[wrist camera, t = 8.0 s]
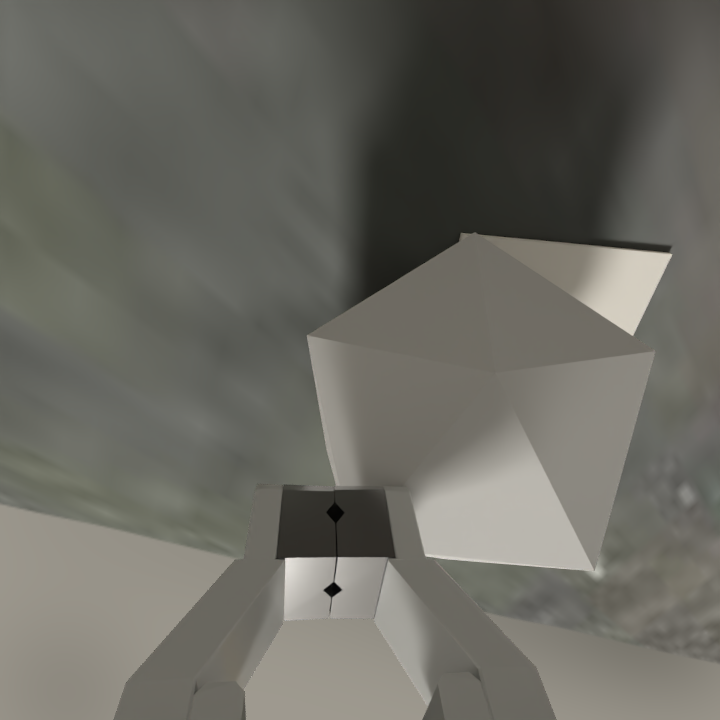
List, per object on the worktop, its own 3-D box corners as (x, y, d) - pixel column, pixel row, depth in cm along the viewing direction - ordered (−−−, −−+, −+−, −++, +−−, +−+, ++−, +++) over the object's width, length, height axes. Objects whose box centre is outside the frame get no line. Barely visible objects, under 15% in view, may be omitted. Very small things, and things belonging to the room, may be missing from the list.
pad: (668, 252, 15) (672, 254, 15) (583, 430, 19) (585, 433, 19) (460, 232, 14) (462, 234, 14) (417, 424, 18) (418, 427, 18)
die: (203, 549, 11) (503, 644, 13) (380, 335, 5) (841, 570, 8) (283, 335, 17) (482, 429, 19) (408, 124, 11) (665, 298, 14)
